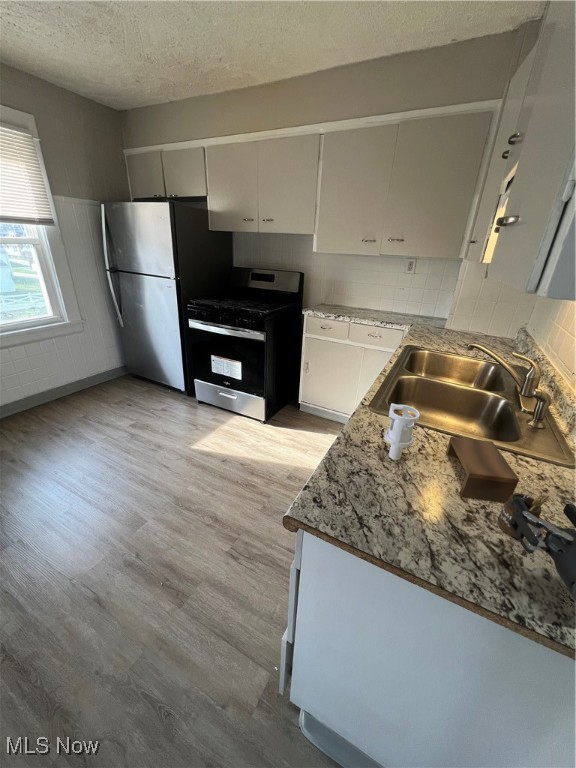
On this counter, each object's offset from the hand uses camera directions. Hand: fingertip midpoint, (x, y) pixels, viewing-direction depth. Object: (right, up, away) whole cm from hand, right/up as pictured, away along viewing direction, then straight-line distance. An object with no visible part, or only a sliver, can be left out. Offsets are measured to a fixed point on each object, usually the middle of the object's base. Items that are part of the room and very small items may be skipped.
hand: (540, 503), depth 57 cm
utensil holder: (0, -8, +7) cm, 11 cm away
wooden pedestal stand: (0, -2, +20) cm, 20 cm away
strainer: (-17, +2, +27) cm, 32 cm away
